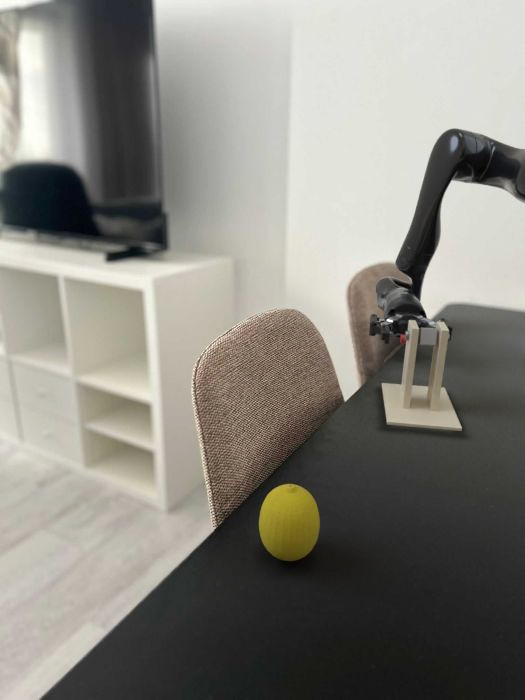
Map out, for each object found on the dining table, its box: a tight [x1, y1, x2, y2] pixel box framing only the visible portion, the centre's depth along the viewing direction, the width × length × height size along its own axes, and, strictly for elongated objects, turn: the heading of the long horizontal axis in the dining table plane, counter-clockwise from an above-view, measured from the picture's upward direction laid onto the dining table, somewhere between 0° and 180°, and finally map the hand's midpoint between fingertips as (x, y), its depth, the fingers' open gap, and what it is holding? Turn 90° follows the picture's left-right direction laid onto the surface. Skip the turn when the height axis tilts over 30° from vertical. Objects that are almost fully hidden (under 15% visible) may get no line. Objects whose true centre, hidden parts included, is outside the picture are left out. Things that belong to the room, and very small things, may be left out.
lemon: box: [258, 483, 321, 562], centre depth 47 cm, size 6×6×8 cm
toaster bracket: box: [381, 320, 463, 432], centre depth 75 cm, size 14×10×14 cm
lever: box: [399, 328, 437, 347], centre depth 78 cm, size 12×5×2 cm, turn 170°
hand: (413, 339), depth 86 cm, fingers open, 8 cm apart
